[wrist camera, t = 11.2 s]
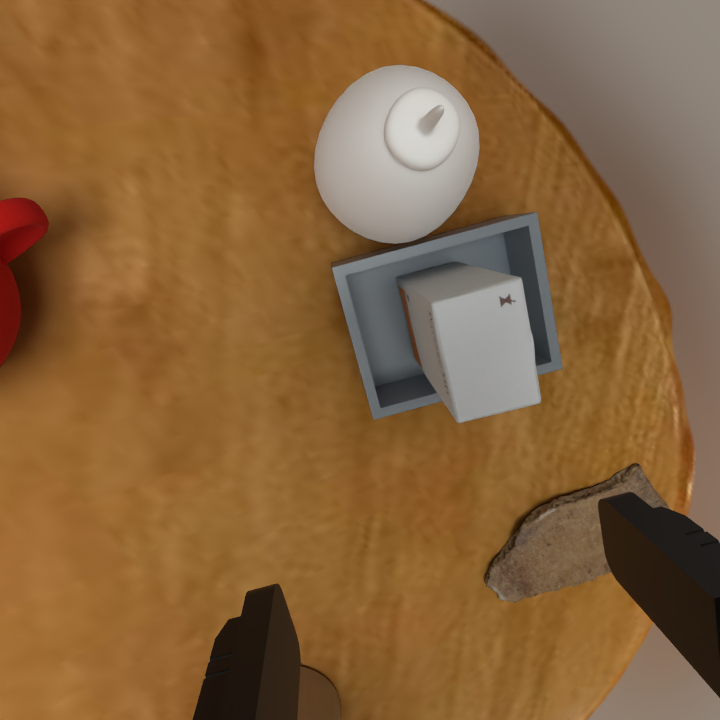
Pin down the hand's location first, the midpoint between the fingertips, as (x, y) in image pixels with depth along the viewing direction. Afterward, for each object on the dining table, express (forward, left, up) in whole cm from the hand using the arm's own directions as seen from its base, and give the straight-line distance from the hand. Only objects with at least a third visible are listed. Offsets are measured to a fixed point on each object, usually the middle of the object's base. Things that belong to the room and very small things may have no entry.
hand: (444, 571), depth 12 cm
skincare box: (+2, -5, -23) cm, 23 cm away
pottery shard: (-19, -12, -24) cm, 32 cm away
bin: (+2, -5, -23) cm, 24 cm away
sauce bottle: (+11, -4, -23) cm, 26 cm away
